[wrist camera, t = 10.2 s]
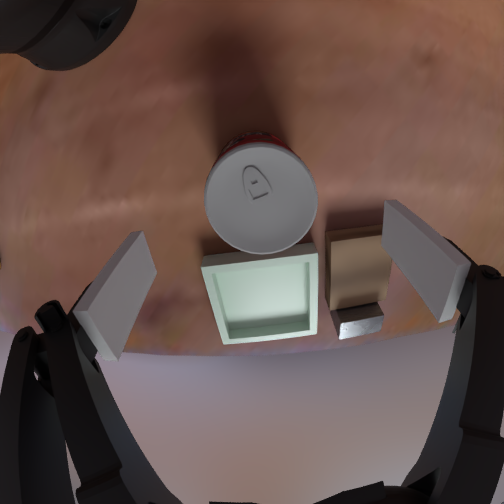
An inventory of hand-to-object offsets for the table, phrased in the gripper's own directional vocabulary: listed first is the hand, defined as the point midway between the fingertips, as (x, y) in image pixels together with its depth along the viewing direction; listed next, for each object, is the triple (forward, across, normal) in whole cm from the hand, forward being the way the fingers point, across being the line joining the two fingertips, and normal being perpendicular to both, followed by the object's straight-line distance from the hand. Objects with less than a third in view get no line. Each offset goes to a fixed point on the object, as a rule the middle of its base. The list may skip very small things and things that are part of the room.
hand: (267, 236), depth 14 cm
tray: (+16, -1, -16) cm, 22 cm away
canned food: (+16, 0, 0) cm, 16 cm away
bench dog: (+16, +11, -20) cm, 27 cm away
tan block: (+16, +11, -13) cm, 23 cm away
